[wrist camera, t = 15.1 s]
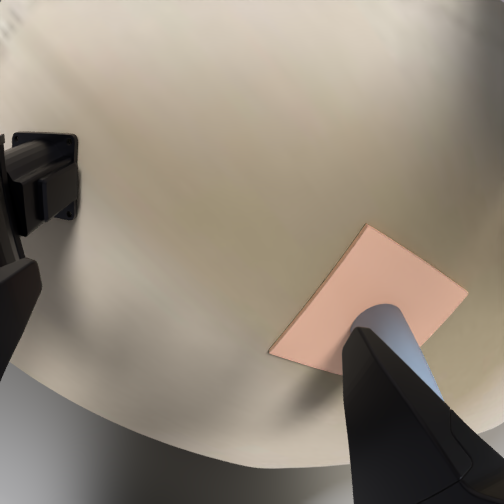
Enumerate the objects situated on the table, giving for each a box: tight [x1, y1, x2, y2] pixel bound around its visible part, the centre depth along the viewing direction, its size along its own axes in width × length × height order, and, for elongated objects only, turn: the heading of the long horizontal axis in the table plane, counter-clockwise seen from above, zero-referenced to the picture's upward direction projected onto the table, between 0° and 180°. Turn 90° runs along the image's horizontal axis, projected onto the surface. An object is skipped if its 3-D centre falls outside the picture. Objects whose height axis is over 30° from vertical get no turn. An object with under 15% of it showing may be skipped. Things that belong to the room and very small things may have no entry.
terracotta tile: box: [269, 223, 469, 376], centre depth 25 cm, size 14×14×1 cm
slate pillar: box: [350, 304, 444, 401], centre depth 19 cm, size 5×5×13 cm
